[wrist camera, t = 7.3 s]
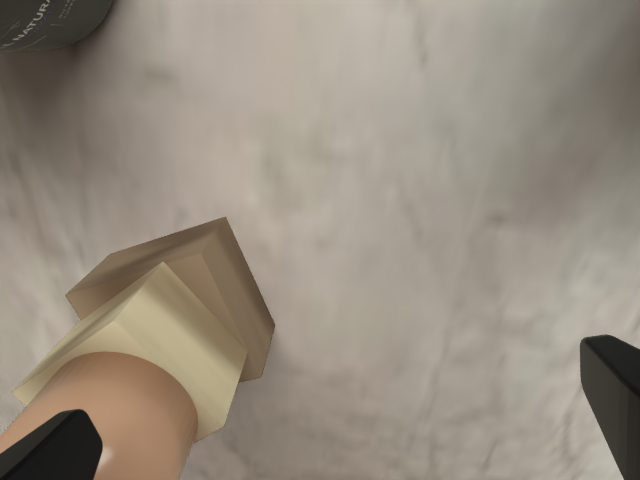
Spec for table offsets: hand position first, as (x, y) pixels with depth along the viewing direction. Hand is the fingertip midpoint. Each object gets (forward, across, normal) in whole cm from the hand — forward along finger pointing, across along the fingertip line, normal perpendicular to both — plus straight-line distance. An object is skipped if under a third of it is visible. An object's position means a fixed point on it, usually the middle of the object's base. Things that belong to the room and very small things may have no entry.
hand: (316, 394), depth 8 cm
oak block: (+9, +8, +4) cm, 13 cm away
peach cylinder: (+5, +8, +4) cm, 10 cm away
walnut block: (+13, +8, +4) cm, 16 cm away
